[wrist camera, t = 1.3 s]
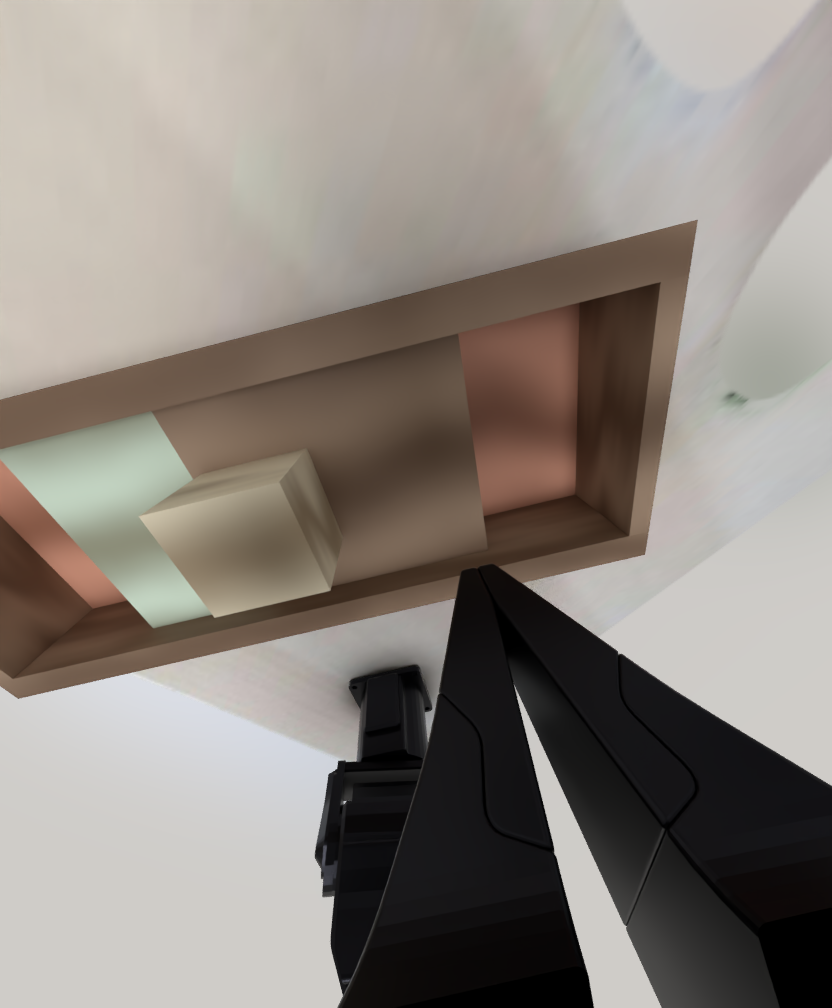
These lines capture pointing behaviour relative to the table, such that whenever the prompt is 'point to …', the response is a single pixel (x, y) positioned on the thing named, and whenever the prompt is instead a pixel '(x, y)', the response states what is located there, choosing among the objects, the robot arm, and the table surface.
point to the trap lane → (349, 457)
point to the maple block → (251, 533)
